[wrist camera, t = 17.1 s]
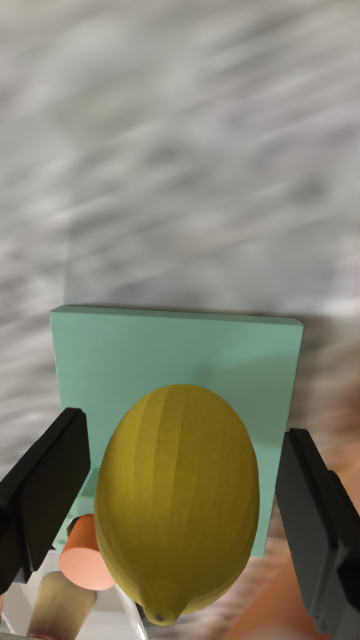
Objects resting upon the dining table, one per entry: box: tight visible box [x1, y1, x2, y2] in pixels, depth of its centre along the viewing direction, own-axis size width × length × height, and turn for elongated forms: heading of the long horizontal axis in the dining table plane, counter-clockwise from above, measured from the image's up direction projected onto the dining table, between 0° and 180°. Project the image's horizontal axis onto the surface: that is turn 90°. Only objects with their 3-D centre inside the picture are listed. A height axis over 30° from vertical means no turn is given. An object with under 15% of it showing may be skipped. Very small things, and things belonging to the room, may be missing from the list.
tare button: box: [59, 514, 116, 590], centre depth 14 cm, size 3×3×2 cm
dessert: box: [1, 548, 149, 640], centre depth 19 cm, size 12×12×5 cm
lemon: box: [94, 384, 260, 626], centre depth 10 cm, size 6×6×8 cm
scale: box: [49, 305, 304, 557], centre depth 14 cm, size 16×12×3 cm
